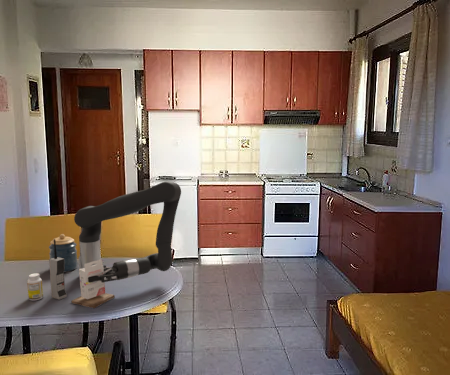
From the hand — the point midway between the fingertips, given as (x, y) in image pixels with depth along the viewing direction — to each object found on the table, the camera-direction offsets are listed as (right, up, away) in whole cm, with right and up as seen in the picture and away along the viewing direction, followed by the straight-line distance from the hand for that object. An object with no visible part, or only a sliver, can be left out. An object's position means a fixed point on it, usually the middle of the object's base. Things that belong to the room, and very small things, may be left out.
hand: (86, 277), depth 174 cm
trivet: (+2, -10, +3) cm, 10 cm away
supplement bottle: (-23, -10, +5) cm, 25 cm away
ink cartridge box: (+2, -8, +3) cm, 9 cm away
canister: (-25, -4, +43) cm, 50 cm away
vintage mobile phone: (-13, -10, +6) cm, 17 cm away
